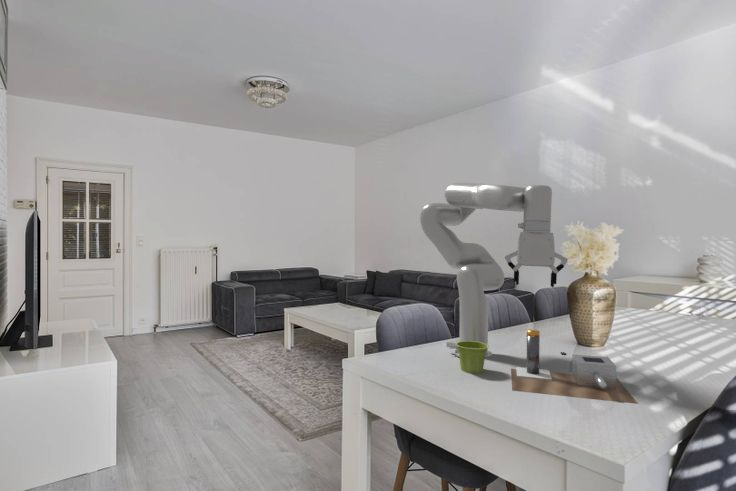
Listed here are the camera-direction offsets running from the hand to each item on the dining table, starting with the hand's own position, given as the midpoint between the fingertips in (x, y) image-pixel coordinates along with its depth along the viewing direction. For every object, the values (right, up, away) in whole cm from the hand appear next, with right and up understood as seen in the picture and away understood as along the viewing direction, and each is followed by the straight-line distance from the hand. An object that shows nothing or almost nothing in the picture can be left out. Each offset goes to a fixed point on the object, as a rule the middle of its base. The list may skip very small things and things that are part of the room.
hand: (534, 285), depth 125 cm
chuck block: (+10, -25, -15) cm, 31 cm away
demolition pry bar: (+18, -27, +12) cm, 34 cm away
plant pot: (-19, -26, 0) cm, 32 cm away
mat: (-2, -25, -4) cm, 26 cm away
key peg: (-2, -25, -4) cm, 25 cm away
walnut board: (+4, -26, -12) cm, 29 cm away
